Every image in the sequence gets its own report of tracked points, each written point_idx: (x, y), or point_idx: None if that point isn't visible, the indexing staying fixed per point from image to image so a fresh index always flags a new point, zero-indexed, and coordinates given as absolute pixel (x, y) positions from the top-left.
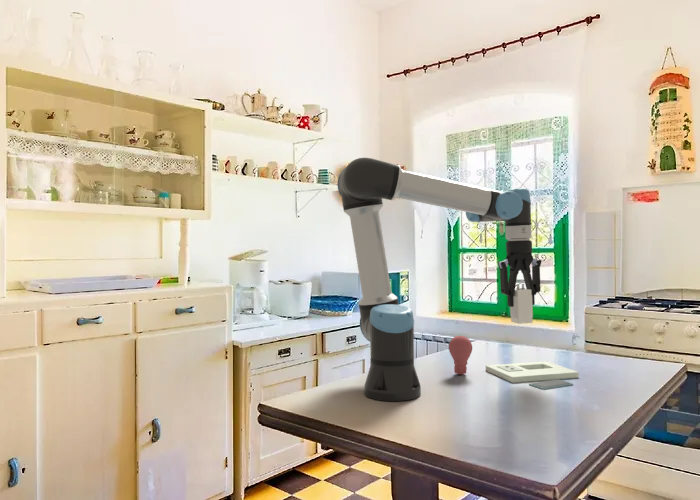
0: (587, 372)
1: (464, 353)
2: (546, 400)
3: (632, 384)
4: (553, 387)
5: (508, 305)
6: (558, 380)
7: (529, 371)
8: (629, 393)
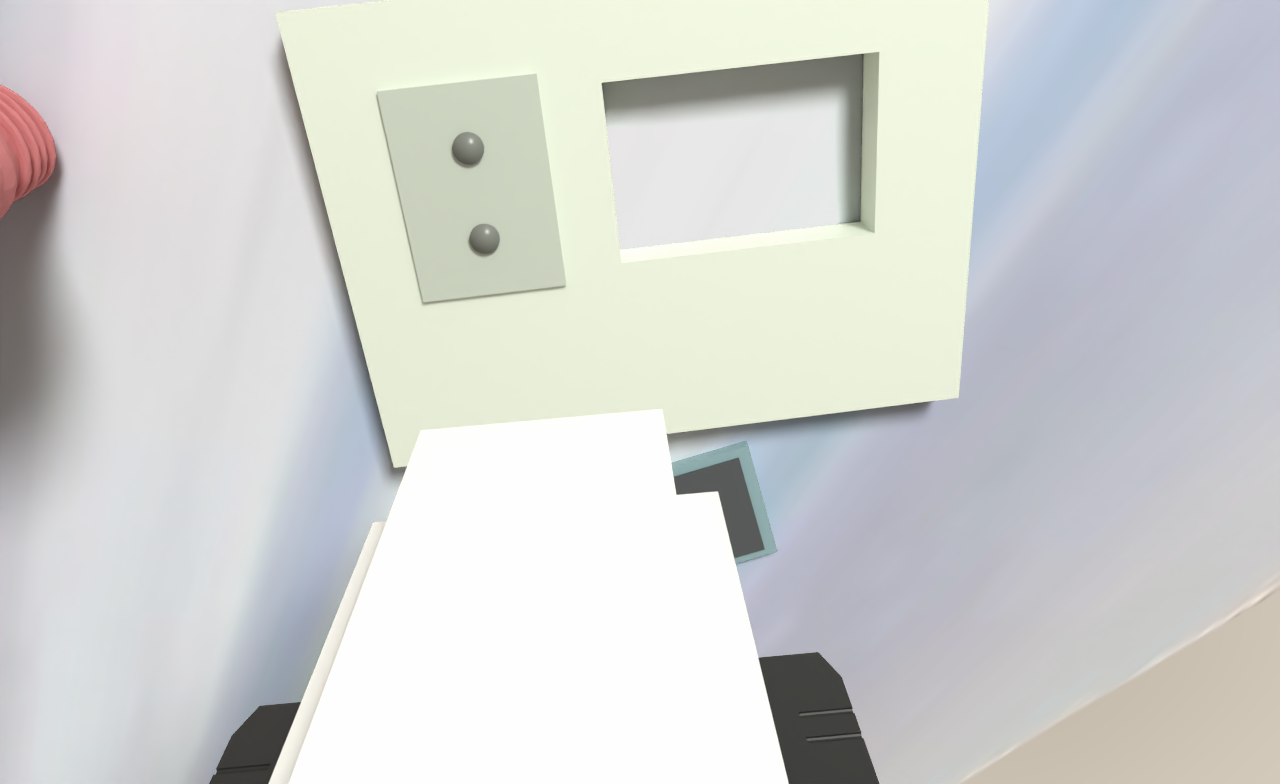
0: (1124, 242)
1: None
2: None
3: (1122, 569)
4: None
5: (250, 741)
6: (726, 485)
7: (604, 322)
8: (951, 710)
